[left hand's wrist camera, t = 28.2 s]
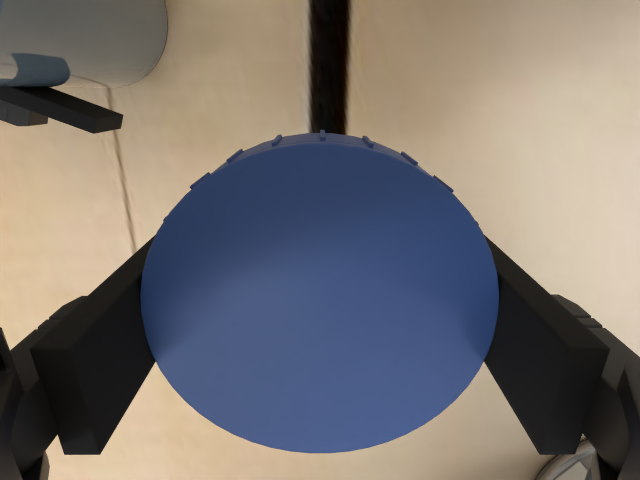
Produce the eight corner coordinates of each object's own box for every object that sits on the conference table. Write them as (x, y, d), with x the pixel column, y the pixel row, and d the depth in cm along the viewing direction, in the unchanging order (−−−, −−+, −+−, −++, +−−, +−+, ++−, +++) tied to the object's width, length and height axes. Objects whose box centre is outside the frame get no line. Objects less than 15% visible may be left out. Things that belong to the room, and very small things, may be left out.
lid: (521, 321, 13) (558, 364, 11) (284, 442, 15) (279, 496, 13) (372, 54, 10) (386, 46, 8) (100, 248, 12) (57, 281, 10)
